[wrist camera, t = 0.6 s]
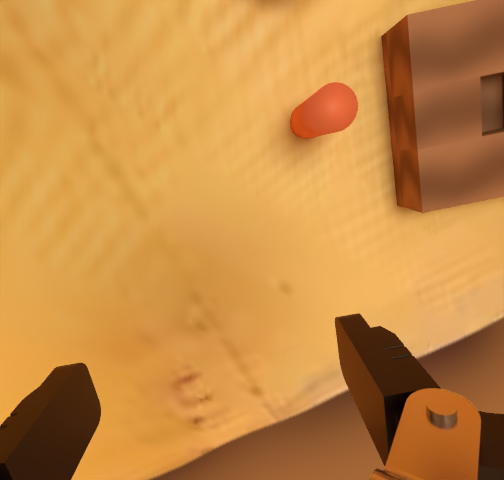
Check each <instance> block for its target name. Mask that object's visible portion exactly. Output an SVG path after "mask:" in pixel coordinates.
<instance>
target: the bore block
mask: <svg viewBox="0 0 504 480" xmlns="http://www.w3.org/2000/svg"><path fill="white" fill-rule="evenodd" d="M382 46H383V57H384V67H385V78H386V89H387V99H388V110H389V120H390V131H391V142H392V152H393V163H394V173H395V184H396V195H397V205H400V206H403V207H406V208H409V209H412V210H415V211H418V212H421V213H424V212H429V211H434V210H439V209H444V208H449V207H453V206H458V205H463V204H468V203H473V202H478V201H483V200H488V199H493V198H498V197H503V196H504V0H476V1H471V2H466V3H462V4H457V5H452V6H447V7H443V8H438V9H433V10H428V11H424V12H419V13H414V14H410V15H407V16H406V17H404V18H403V19H402V20H401V21H399V22H398V23H397V24H396V25H395V26H393V27H392V28H391V29H390V30H389V31H387V32H386V33H385V34H384V35H383V36H382Z"/></svg>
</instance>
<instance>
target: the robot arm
mask: <svg viewBox="0 0 504 480" xmlns="http://www.w3.org/2000/svg"><path fill="white" fill-rule="evenodd" d="M335 327H336V335H337V343H338V351H339V359H340V365H341V369H342V373H343V376H344V379H345V382H346V384H347V386H348V388H349V390H350V392H351V395H352V396H353V399H354V401H355V403H356V405H357V407H358V410H359V412H360V414H361V416H362V418H363V421H364V423H365V425H366V427H367V429H368V431H369V434H370V436H371V438H372V440H373V442H374V444H375V447H376V449H377V451H378V453H379V455H380V457H381V459H382V462H383V464H384V466H385V468H384V470H383V471H382V470H380V469H376V470H374V472H373V473H372V475H371V478H370V480H504V414H494V413H485V412H481V411H478V410H477V409H476V408H475V406H474V405H473V404H472V403H471V402H469V401H468V400H467V399H465V398H464V397H462V396H460V395H458V394H456V393H453V392H451V391H448V390H444V389H441V388H440V387H439V386H438V385H437V383H436V382H435V381H434V380H433V379H432V377H431V376H430V375H429V374H428V373H427V372H426V370H425V369H424V368H423V367H422V366H421V364H420V363H419V362H418V361H417V360H416V358H415V357H414V356H412V355H411V353H410V351H409V350H408V349H407V348H406V347H404V344H403V343H402V342H401V341H400V340H399V338H398V337H397V336H396V335H395V334H394V333H392V332H390V331H388V330H387V329H385V328H383V327H381V326H378V327H373V328H370V327H369V325H368V324H367V323H366V321H365V320H364V318H363V317H362V316H361V315H360V314H359V313H358V314H352V315H347V316H341V317H336V318H335ZM100 416H101V406H100V402H99V399H98V396H97V393H96V390H95V388H94V385H93V382H92V379H91V376H90V374H89V371H88V368H87V366H86V365H85V364H84V363H76V364H70V365H65V366H59V367H56V368H55V369H54V370H53V371H52V372H51V373H50V375H49V376H48V377H47V378H46V379H45V381H44V382H43V383H42V384H41V385H40V387H38V388H37V389H36V390H34V391H33V392H32V393H31V394H29V395H28V396H27V397H25V398H24V399H23V400H22V401H21V402H20V403H19V405H18V406H17V407H16V408H15V409H14V410H13V412H12V413H11V416H10V417H7V419H6V420H5V421H4V422H3V423H2V425H1V426H0V480H71V478H72V476H73V474H74V472H75V470H76V468H77V466H78V464H79V462H80V460H81V458H82V456H83V454H84V452H85V450H86V448H87V446H88V444H89V442H90V440H91V438H92V436H93V434H94V432H95V430H96V428H97V426H98V424H99V421H100Z"/></svg>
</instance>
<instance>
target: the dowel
mask: <svg viewBox="0 0 504 480" xmlns="http://www.w3.org/2000/svg"><path fill="white" fill-rule="evenodd" d="M357 110H358V102H357V98H356V96H355V93H354V92H353V91H352V89H351V88H349V87H348V86H347V85H345V84H342V83H330V84H327V85H325V86H323V87H322V88H321V89H319V90H318V91H317V92H316V93H314V94H313V95H312V96H311V97H309V98H308V99H307V100H306V101H304V102H303V103H302V104H301V105H299V106H298V107H297V108H296V109H295V110H294V111H293V113H292V115H291V120H290V123H291V128H292V130H293V131H294V133H295V134H296V135H297V136H299V137H301V138H311V137H316V136H320V135H325V134H329V133H334V132H338V131H341V130H344V129H345V128H347V127H348V126H349V125H350V124H351V123H352V122H353V120H354V119H355V117H356V114H357Z"/></svg>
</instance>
